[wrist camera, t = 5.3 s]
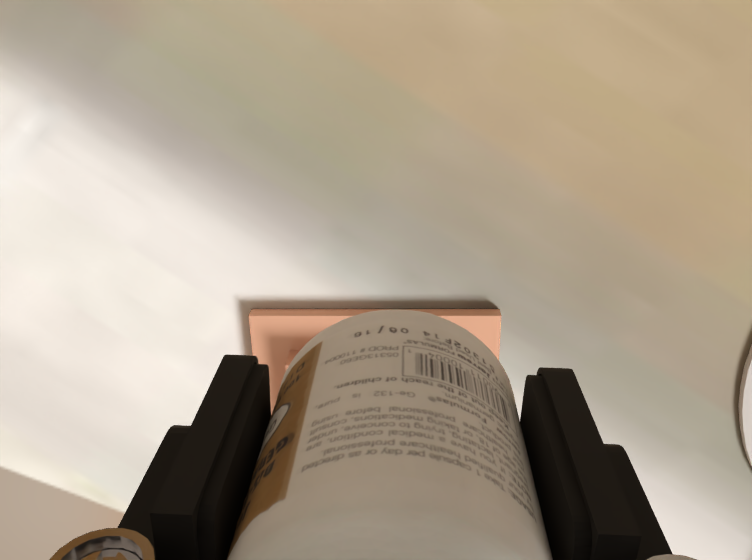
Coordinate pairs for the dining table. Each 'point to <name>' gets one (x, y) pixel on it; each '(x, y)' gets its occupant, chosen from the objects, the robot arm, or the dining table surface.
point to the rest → (298, 326)
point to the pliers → (746, 407)
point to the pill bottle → (393, 451)
